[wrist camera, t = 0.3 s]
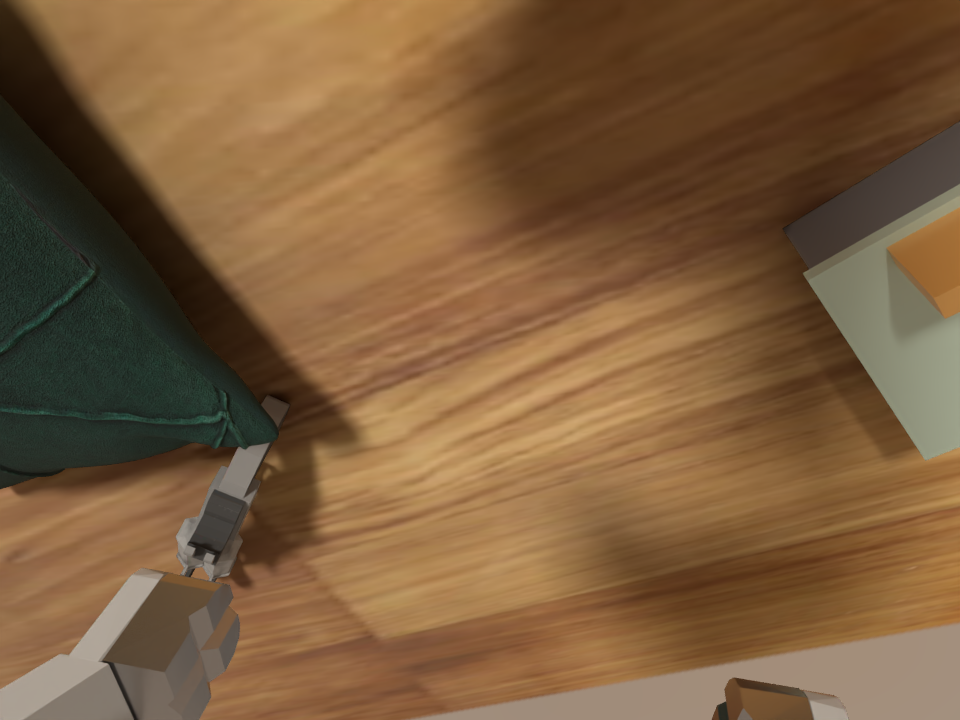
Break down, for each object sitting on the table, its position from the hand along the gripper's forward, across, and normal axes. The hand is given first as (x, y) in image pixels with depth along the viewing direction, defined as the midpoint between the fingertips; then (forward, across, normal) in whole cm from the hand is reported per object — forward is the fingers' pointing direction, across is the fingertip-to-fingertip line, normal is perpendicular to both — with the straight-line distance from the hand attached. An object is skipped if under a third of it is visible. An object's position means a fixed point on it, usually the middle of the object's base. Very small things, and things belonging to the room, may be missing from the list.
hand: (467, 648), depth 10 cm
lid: (+37, -27, +9) cm, 46 cm away
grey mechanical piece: (+40, +31, +40) cm, 65 cm away
